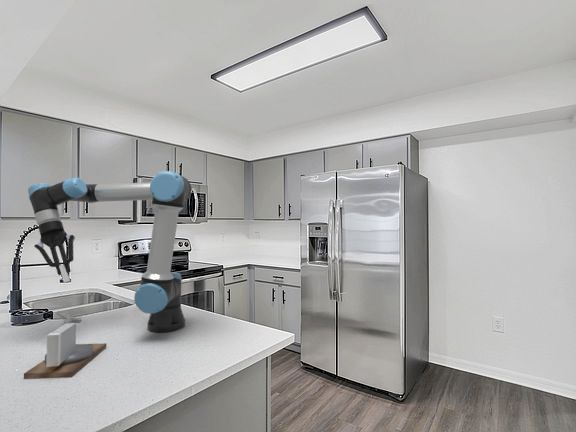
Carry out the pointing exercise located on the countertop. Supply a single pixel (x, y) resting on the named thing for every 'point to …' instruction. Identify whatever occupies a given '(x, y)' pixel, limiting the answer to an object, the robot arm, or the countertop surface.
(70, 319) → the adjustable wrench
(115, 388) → the countertop surface
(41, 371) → the dial board
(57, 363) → the grey panel and disc
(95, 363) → the countertop surface
